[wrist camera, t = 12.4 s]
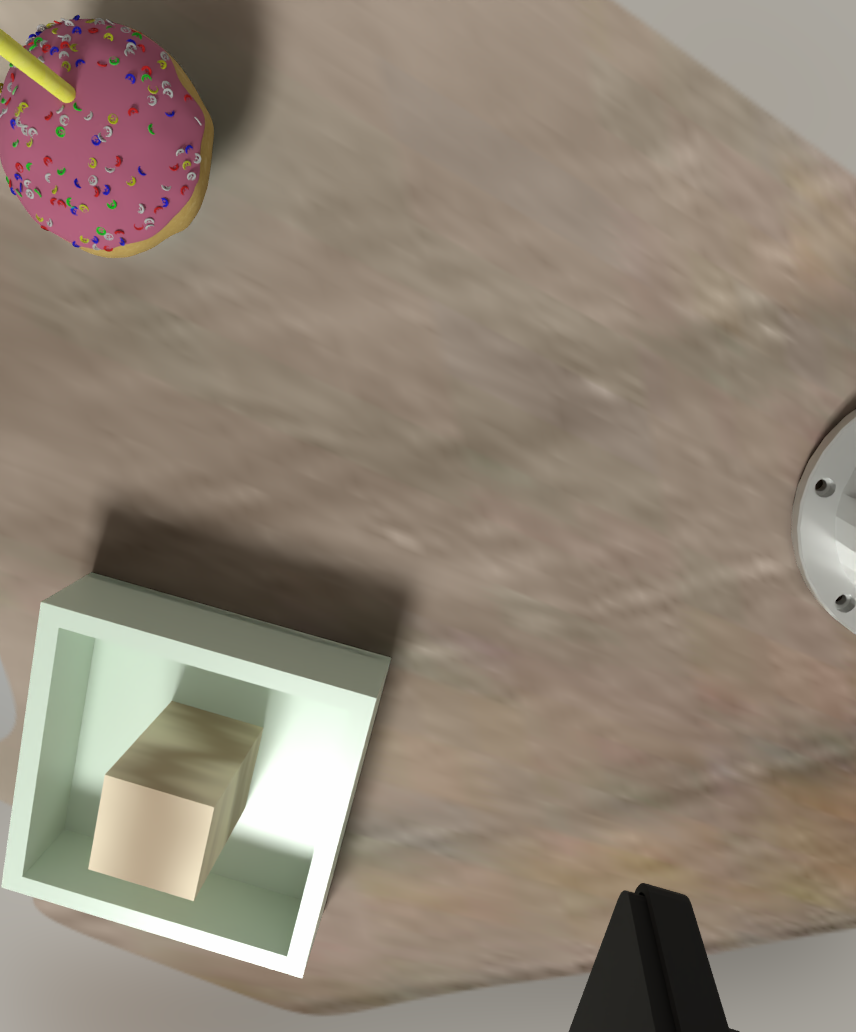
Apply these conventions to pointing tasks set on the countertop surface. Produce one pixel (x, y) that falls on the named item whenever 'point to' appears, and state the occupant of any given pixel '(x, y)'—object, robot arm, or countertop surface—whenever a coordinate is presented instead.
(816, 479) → the robot arm
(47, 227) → the cupcake
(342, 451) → the countertop surface
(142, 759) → the beech block
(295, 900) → the bin
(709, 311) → the countertop surface
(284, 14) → the countertop surface
